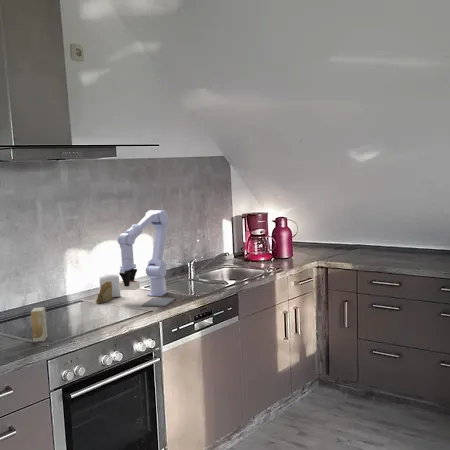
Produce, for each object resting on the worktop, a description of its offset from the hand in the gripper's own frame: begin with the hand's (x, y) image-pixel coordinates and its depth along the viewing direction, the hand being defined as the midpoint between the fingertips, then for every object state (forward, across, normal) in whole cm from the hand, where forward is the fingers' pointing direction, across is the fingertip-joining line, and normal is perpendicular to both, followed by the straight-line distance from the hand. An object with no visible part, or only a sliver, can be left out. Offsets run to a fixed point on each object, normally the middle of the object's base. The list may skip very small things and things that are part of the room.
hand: (129, 285), depth 279 cm
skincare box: (+9, +62, -11) cm, 64 cm away
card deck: (+2, 0, 0) cm, 2 cm away
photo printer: (+9, -11, -16) cm, 21 cm away
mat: (+9, 0, +15) cm, 17 cm away
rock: (+9, -3, -16) cm, 18 cm away
